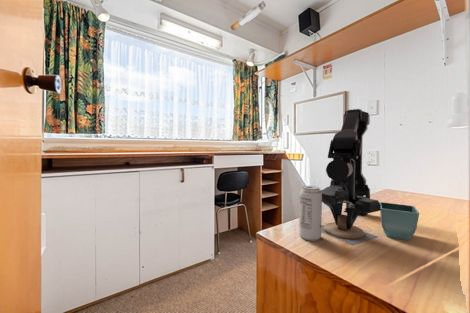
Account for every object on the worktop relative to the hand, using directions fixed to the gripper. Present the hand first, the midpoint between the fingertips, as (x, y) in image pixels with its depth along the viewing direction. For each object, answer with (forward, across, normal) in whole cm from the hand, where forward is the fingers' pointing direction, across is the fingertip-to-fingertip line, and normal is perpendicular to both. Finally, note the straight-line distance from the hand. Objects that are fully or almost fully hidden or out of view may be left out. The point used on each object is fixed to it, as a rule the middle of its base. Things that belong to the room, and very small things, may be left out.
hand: (343, 227), depth 67 cm
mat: (+2, 0, 0) cm, 2 cm away
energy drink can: (+2, -2, -12) cm, 12 cm away
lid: (+1, 0, 0) cm, 1 cm away
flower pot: (+2, +9, +12) cm, 15 cm away
